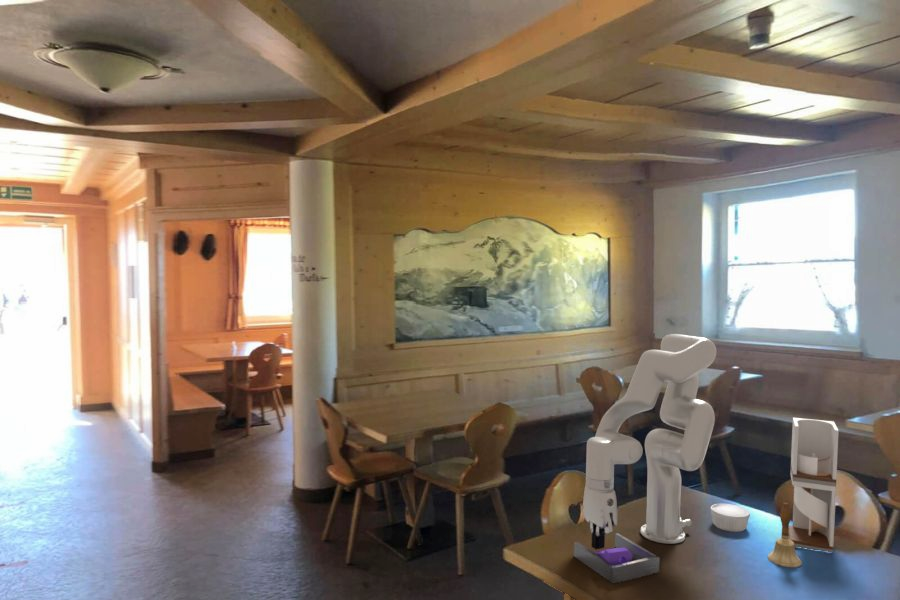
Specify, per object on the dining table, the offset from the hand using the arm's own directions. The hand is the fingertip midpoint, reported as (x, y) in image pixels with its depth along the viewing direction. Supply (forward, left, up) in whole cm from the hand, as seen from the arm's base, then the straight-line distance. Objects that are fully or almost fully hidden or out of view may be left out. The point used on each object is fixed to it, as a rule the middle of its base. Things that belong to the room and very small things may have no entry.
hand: (597, 547), depth 179 cm
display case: (-61, +19, -2) cm, 64 cm away
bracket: (+2, +7, -2) cm, 8 cm away
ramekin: (-49, +1, -2) cm, 49 cm away
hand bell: (-44, +24, -2) cm, 50 cm away
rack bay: (0, +7, -2) cm, 7 cm away
